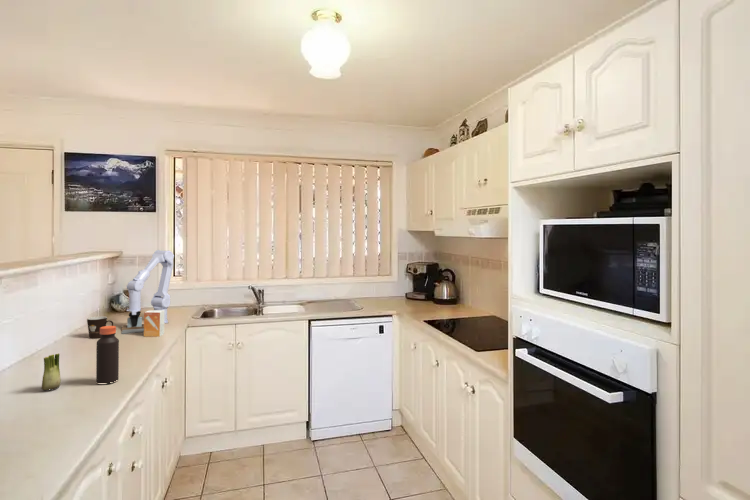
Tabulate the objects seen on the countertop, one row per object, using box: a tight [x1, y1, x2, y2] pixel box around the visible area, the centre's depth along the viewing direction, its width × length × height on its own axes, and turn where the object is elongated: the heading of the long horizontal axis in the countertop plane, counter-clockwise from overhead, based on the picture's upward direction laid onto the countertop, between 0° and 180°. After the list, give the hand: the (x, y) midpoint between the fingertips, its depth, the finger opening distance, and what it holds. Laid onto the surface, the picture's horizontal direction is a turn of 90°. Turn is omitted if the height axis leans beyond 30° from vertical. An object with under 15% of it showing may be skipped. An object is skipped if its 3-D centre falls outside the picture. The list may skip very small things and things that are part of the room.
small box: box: [143, 309, 165, 338], centre depth 215 cm, size 8×6×13 cm
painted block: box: [126, 316, 143, 328], centre depth 231 cm, size 4×7×6 cm, turn 118°
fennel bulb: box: [41, 352, 62, 391], centre depth 139 cm, size 6×5×12 cm
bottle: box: [95, 325, 120, 384], centre depth 147 cm, size 7×7×20 cm
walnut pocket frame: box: [121, 323, 144, 331], centre depth 231 cm, size 9×12×1 cm
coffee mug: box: [86, 315, 114, 340], centre depth 208 cm, size 12×9×10 cm
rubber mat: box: [121, 328, 144, 335], centre depth 223 cm, size 8×11×1 cm
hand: (134, 325), depth 231 cm, fingers closed on painted block, 4 cm apart
